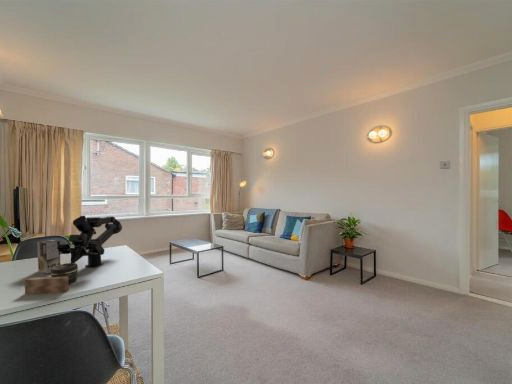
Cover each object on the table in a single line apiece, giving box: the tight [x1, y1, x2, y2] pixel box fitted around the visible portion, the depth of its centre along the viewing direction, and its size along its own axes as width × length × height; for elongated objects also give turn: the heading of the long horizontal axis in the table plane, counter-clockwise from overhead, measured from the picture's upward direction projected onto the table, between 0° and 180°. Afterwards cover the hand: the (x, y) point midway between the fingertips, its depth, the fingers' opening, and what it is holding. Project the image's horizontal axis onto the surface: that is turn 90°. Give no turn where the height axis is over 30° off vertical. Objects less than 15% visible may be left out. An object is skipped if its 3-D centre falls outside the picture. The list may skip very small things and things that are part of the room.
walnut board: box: [24, 276, 70, 295], centre depth 102 cm, size 16×2×6 cm, turn 95°
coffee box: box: [37, 239, 61, 274], centre depth 128 cm, size 9×6×16 cm
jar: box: [50, 262, 79, 285], centre depth 113 cm, size 10×10×8 cm
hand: (71, 263), depth 118 cm, fingers closed
